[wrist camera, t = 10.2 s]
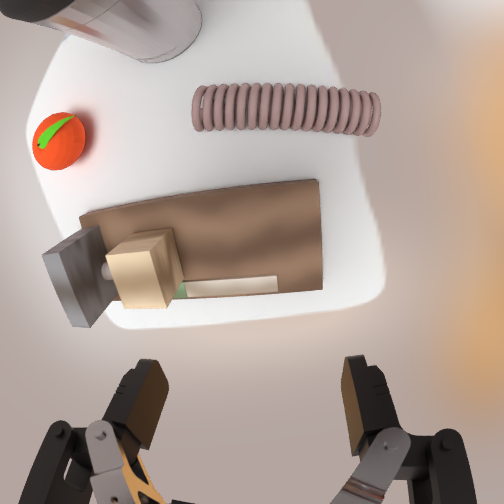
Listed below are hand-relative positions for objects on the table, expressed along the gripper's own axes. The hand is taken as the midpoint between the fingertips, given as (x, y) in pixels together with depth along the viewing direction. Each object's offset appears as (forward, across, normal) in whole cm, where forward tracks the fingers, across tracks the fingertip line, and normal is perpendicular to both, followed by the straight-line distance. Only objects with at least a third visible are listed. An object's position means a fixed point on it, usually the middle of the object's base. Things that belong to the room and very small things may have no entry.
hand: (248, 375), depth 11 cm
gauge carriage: (+18, +14, +4) cm, 23 cm away
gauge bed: (+21, +8, +2) cm, 22 cm away
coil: (+22, -3, -11) cm, 25 cm away
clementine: (+21, +22, -13) cm, 33 cm away
